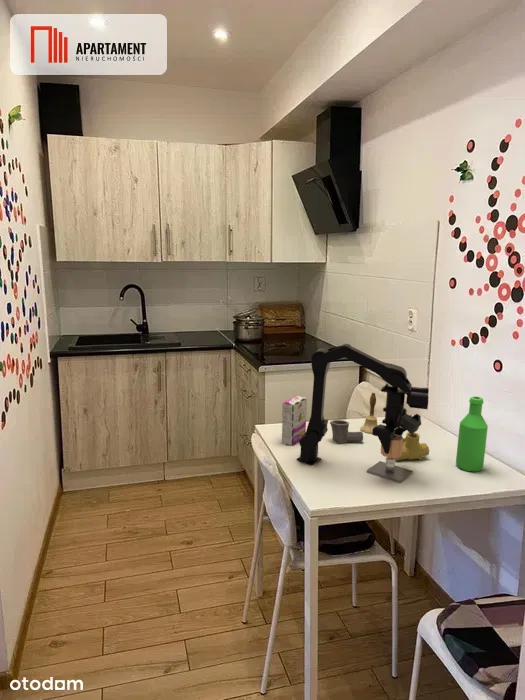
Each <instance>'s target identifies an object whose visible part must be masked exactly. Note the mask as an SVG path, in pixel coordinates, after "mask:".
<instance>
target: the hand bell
mask: <svg viewBox="0 0 525 700" xmlns="http://www.w3.org/2000/svg"><path fill="white" fill-rule="evenodd" d="M370 394H371V395H370V397H369V407H370V408H369V410H370V411H369V415H368V416H365V420H364V423H363V425H362V426H361V427H360V428H359V429H360V432H362V433H365V434H372V430H373V428H374V427H376V426H378V425H379V424H378V418H377V417H376V416H375V406H376V404H377V396H376V392H371V393H370Z"/></svg>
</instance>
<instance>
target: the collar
mask: <svg viewBox="0 0 525 700" xmlns="http://www.w3.org/2000/svg"><path fill="white" fill-rule="evenodd" d="M394 436H396V437H395V438H394V439H392V441H391V446H390V450H389V454H386V453H385V452H384V449H383V447H382V445H381V444H380V455H382V456H383V457H385V458H387V457H389V458H399V457H401V456H402V447H403V438H404V437H403V435H402V436H400V435H397V434H395V435H394Z"/></svg>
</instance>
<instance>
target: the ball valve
mask: <svg viewBox="0 0 525 700" xmlns="http://www.w3.org/2000/svg"><path fill="white" fill-rule="evenodd" d="M420 437H421V435H420V434H419V433H417V432H414V433H413V434H412V433H409V432H408V431H407V433H406V434H405V437H403V447H402V456H401V457H399V458H395V462H396V461H402V460H409V461H410V460H416V459H418V460H420V459H423V458H424V457H427V456H429V455H430V448H429V446H428V444H427V442H426V443H425V442H422V443H421V442H420Z"/></svg>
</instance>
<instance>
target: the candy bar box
mask: <svg viewBox="0 0 525 700" xmlns="http://www.w3.org/2000/svg"><path fill="white" fill-rule="evenodd" d="M281 415H282V417H281V419H282V420H281V422H282V423H281V425H282V426H281V427H282V428H281V443H282V444H283V445H288V446H290V447H291V446H292V447H293V446H294V445H296V444H298V443H299V440H300V439H301V437H302V436H303V435H304V433H305V432H306V430H307V397H306V396H301V395H295V396H293V397H290V398H288V399H287V400H285V401H283V402H282V414H281Z"/></svg>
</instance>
